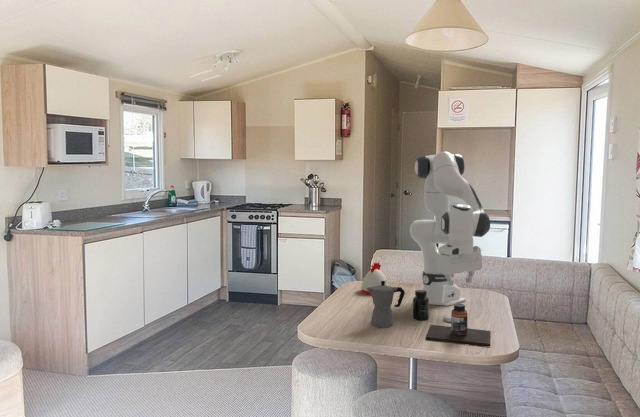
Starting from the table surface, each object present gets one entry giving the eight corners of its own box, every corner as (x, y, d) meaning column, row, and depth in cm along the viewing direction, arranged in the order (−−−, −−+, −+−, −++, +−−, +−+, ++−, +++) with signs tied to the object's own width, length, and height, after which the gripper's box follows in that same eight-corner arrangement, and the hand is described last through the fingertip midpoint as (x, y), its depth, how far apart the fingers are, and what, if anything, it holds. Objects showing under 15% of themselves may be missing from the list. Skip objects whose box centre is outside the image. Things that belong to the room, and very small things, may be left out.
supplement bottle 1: (429, 317, 230) (430, 290, 229) (427, 321, 223) (428, 293, 222) (413, 315, 232) (414, 288, 231) (411, 320, 226) (411, 292, 224)
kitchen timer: (393, 291, 275) (394, 262, 274) (378, 296, 265) (378, 266, 263) (371, 287, 284) (372, 259, 283) (355, 292, 274) (356, 262, 273)
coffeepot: (365, 326, 216) (366, 282, 214) (366, 320, 225) (367, 277, 224) (404, 328, 214) (405, 284, 212) (403, 321, 223) (404, 279, 222)
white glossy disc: (453, 316, 232) (453, 313, 232) (467, 321, 225) (467, 318, 225) (439, 318, 228) (439, 316, 228) (452, 323, 221) (452, 321, 221)
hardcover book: (430, 330, 216) (430, 324, 216) (490, 336, 209) (490, 330, 208) (425, 342, 201) (425, 336, 200) (489, 350, 193) (490, 344, 193)
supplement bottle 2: (458, 330, 209) (458, 301, 207) (470, 334, 204) (471, 305, 203) (447, 333, 205) (448, 304, 204) (459, 337, 200) (460, 307, 199)
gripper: (474, 244, 209) (473, 279, 211) (434, 248, 199) (433, 285, 201) (486, 246, 204) (485, 282, 205) (446, 251, 194) (445, 288, 195)
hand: (459, 283), depth 203 cm, fingers open, 8 cm apart
